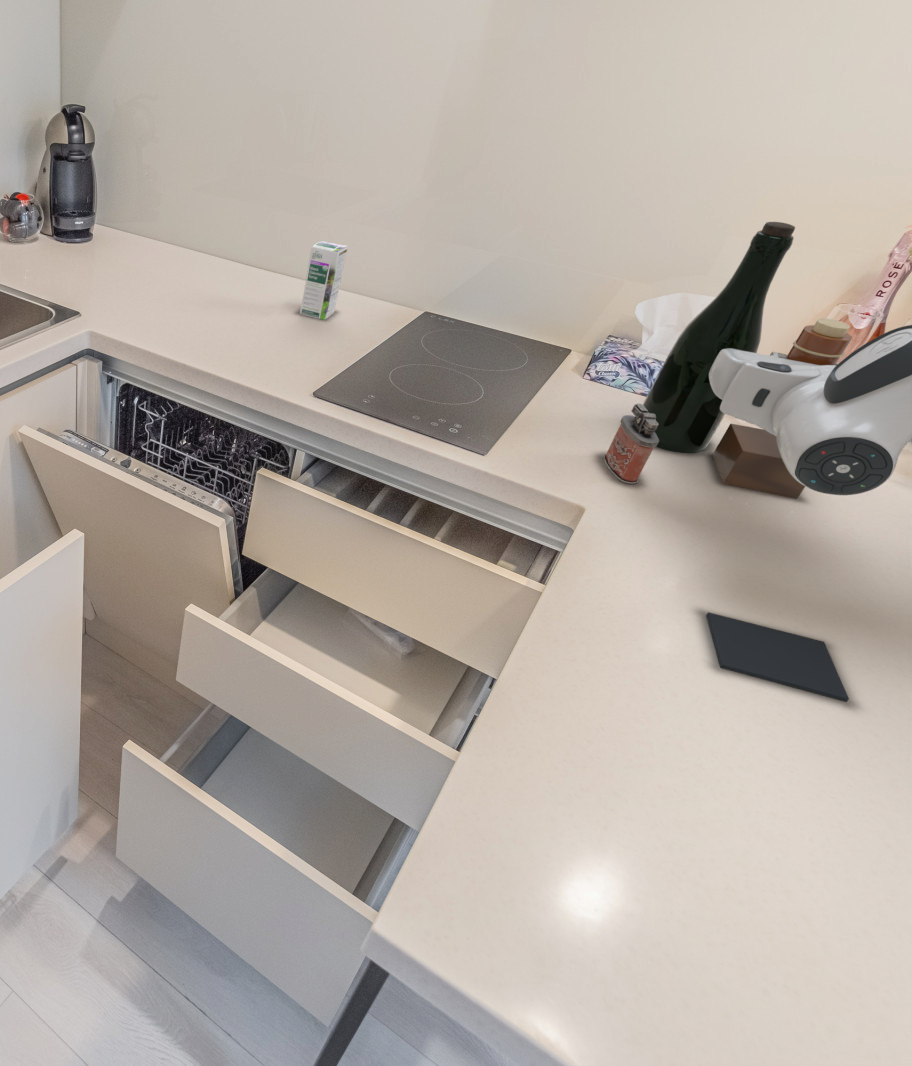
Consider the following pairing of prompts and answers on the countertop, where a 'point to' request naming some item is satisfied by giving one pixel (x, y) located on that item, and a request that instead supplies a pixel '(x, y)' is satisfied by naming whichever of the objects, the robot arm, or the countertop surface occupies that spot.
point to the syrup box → (323, 279)
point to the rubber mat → (775, 656)
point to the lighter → (632, 445)
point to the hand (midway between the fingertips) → (805, 364)
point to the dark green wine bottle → (714, 346)
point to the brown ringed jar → (821, 343)
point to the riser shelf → (754, 462)
